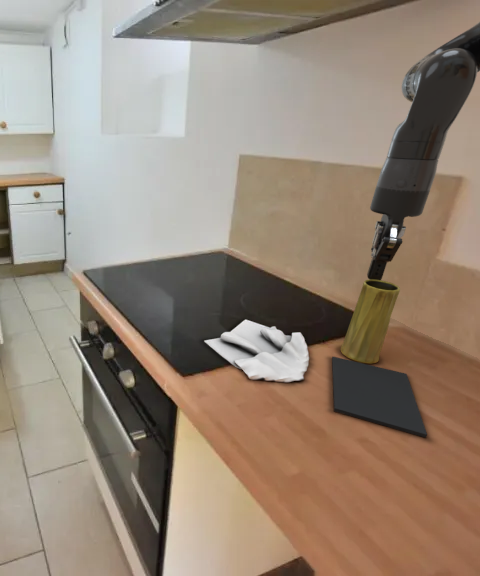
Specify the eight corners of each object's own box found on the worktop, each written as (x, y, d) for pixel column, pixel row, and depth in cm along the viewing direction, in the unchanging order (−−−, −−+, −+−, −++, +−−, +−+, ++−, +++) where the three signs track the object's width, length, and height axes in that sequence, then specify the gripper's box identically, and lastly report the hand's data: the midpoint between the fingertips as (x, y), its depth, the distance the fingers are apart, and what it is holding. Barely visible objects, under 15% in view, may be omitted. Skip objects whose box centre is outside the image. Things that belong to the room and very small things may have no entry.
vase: (348, 362, 69) (371, 290, 63) (334, 344, 74) (354, 277, 69) (385, 365, 68) (411, 293, 62) (368, 347, 73) (391, 279, 68)
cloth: (249, 390, 61) (252, 378, 60) (189, 326, 81) (191, 316, 80) (354, 373, 66) (358, 362, 65) (273, 316, 85) (275, 307, 84)
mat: (405, 376, 65) (406, 373, 65) (426, 438, 52) (427, 434, 52) (331, 358, 70) (332, 356, 70) (333, 411, 57) (334, 408, 57)
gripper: (440, 192, 59) (403, 295, 65) (422, 183, 69) (392, 271, 76) (381, 189, 62) (352, 286, 69) (373, 180, 73) (348, 265, 79)
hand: (373, 278), depth 72 cm, fingers closed
